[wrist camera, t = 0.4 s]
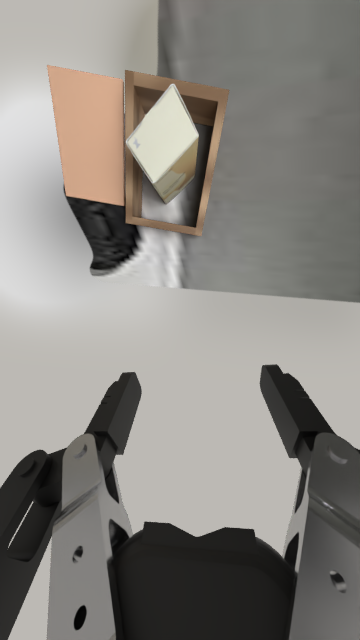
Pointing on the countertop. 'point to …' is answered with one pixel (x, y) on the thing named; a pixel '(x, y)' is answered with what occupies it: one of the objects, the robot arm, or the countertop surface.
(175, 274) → the countertop surface
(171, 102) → the skincare box
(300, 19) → the countertop surface
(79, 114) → the terracotta tile
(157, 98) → the frame
